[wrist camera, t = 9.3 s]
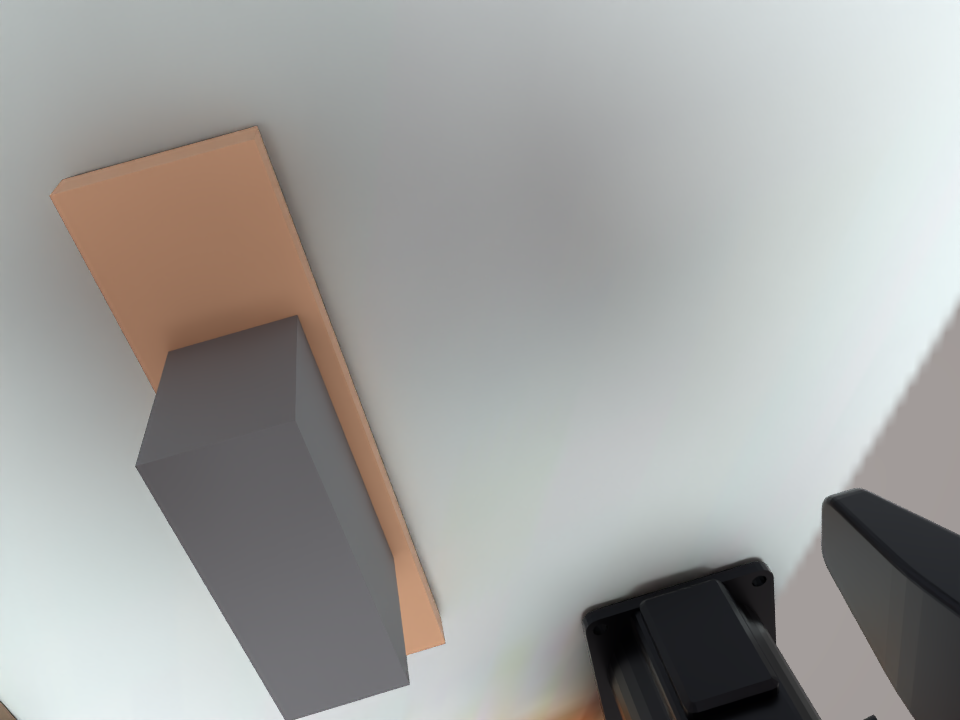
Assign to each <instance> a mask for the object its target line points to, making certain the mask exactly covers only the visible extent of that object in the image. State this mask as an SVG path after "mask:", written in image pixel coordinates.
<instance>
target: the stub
mask: <svg viewBox="0 0 960 720" xmlns="http://www.w3.org/2000/svg"><path fill="white" fill-rule="evenodd" d="M50 198H51V200H52V202H53V203H54V205H55V207H56V209H57V211H58V213H59V215H60V216H61V218H62V220H63V222H64V224H65V226H66V228H67V229H68V231H69V233H70V235H71V237H72V239H73V241H74V242H75V244H76V246H77V248H78V250H79V252H80V254H81V255H82V257H83V259H84V261H85V263H86V265H87V267H88V268H89V270H90V272H91V274H92V276H93V278H94V280H95V281H96V283H97V285H98V287H99V289H100V291H101V293H102V294H103V296H104V298H105V300H106V302H107V304H108V306H109V307H110V309H111V311H112V313H113V315H114V317H115V319H116V320H117V322H118V324H119V326H120V328H121V330H122V332H123V333H124V335H125V337H126V339H127V341H128V343H129V345H130V346H131V348H132V350H133V352H134V354H135V356H136V358H137V359H138V361H139V363H140V365H141V367H142V369H143V371H144V372H145V374H146V376H147V378H148V380H149V382H150V384H151V385H152V387H153V389H154V391H155V393H156V396H155V400H154V403H153V407H152V410H151V414H150V417H149V421H148V424H147V427H146V431H145V434H144V438H143V441H142V445H141V448H140V452H139V455H138V459H137V462H136V466H135V467H136V468H137V470H138V472H139V473H140V475H141V477H142V478H143V480H144V482H145V484H146V485H147V487H148V489H149V490H150V492H151V494H152V495H153V497H154V499H155V501H156V502H157V504H158V506H159V507H160V509H161V511H162V512H163V514H164V516H165V517H166V519H167V521H168V523H169V524H170V526H171V528H172V529H173V531H174V533H175V534H176V536H177V538H178V539H179V541H180V543H181V545H182V546H183V548H184V550H185V551H186V553H187V555H188V556H189V558H190V560H191V561H192V563H193V565H194V567H195V568H196V570H197V572H198V573H199V575H200V577H201V578H202V580H203V582H204V584H205V585H206V587H207V589H208V590H209V592H210V594H211V595H212V597H213V599H214V600H215V602H216V604H217V606H218V607H219V609H220V611H221V612H222V614H223V616H224V617H225V619H226V621H227V622H228V624H229V626H230V628H231V629H232V631H233V633H234V634H235V636H236V638H237V639H238V641H239V643H240V644H241V646H242V648H243V650H244V651H245V653H246V655H247V656H248V658H249V660H250V661H251V663H252V665H253V667H254V668H255V670H256V672H257V673H258V675H259V677H260V678H261V680H262V682H263V683H264V685H265V687H266V689H267V690H268V692H269V694H270V695H271V697H272V699H273V700H274V702H275V704H276V705H277V707H278V709H279V711H280V712H281V714H282V716H283V717H284V719H285V720H295V719H298V718H301V717H305V716H308V715H311V714H315V713H318V712H321V711H324V710H328V709H331V708H334V707H338V706H341V705H344V704H347V703H351V702H354V701H357V700H361V699H364V698H367V697H370V696H374V695H377V694H380V693H384V692H387V691H390V690H393V689H397V688H400V687H403V686H407V685H410V682H409V674H408V666H407V658H406V655H409V654H412V653H416V652H419V651H422V650H426V649H429V648H432V647H436V646H439V645H442V644H445V638H444V633H443V627H442V622H441V617H440V615H439V612H438V609H437V606H436V604H435V601H434V598H433V596H432V593H431V590H430V588H429V585H428V582H427V580H426V577H425V574H424V572H423V569H422V566H421V564H420V561H419V558H418V556H417V553H416V550H415V548H414V545H413V542H412V540H411V537H410V534H409V531H408V529H407V526H406V523H405V521H404V518H403V515H402V513H401V510H400V507H399V505H398V502H397V499H396V497H395V494H394V491H393V489H392V486H391V483H390V481H389V478H388V475H387V473H386V470H385V467H384V465H383V462H382V459H381V456H380V454H379V451H378V448H377V446H376V443H375V440H374V438H373V435H372V432H371V430H370V427H369V424H368V422H367V419H366V416H365V414H364V411H363V408H362V406H361V403H360V400H359V398H358V395H357V392H356V390H355V387H354V384H353V381H352V379H351V376H350V373H349V371H348V368H347V365H346V363H345V360H344V357H343V355H342V352H341V349H340V347H339V344H338V341H337V339H336V336H335V333H334V331H333V328H332V325H331V323H330V320H329V317H328V315H327V312H326V309H325V306H324V304H323V301H322V298H321V296H320V293H319V290H318V288H317V285H316V282H315V280H314V277H313V274H312V272H311V269H310V266H309V264H308V261H307V258H306V256H305V253H304V250H303V248H302V245H301V242H300V239H299V237H298V234H297V231H296V229H295V226H294V223H293V221H292V218H291V215H290V213H289V210H288V207H287V205H286V202H285V199H284V197H283V194H282V191H281V189H280V186H279V183H278V181H277V178H276V175H275V173H274V170H273V167H272V164H271V162H270V159H269V156H268V154H267V151H266V148H265V146H264V143H263V140H262V138H261V135H260V132H259V130H258V127H257V126H255V127H251V128H247V129H244V130H240V131H237V132H233V133H229V134H226V135H222V136H218V137H215V138H211V139H208V140H204V141H200V142H197V143H193V144H189V145H186V146H182V147H179V148H175V149H171V150H168V151H164V152H161V153H157V154H153V155H150V156H146V157H142V158H139V159H135V160H132V161H128V162H124V163H121V164H117V165H113V166H110V167H106V168H103V169H99V170H95V171H92V172H88V173H85V174H81V175H77V176H74V177H70V178H66V179H63V180H61V182H60V183H59V184H58V185H57V187H56V188H55V189H54V191H53V192H52V193H51V194H50Z"/></svg>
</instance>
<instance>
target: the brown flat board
mask: <svg viewBox="0 0 960 720" xmlns="http://www.w3.org/2000/svg"><path fill="white" fill-rule="evenodd" d="M0 720H16V719H15V718H14V717H13V716H12V715H11V713H10V712H9V711H8V710H7V709H6V708H5V707H4V706H3V704H2V703H1V702H0Z"/></svg>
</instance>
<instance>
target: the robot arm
mask: <svg viewBox="0 0 960 720" xmlns="http://www.w3.org/2000/svg"><path fill="white" fill-rule="evenodd" d="M821 546H822V554H823V558H824V561H825V564H826V566H827V568H828V570H829V572H830V574H831V576H832V578H833V579H834V581H835V583H836V585H837V587H838V588H839V590H840V592H841V594H842V595H843V597H844V599H845V601H846V603H847V604H848V606H849V608H850V610H851V612H852V614H853V615H854V617H855V619H856V621H857V623H858V624H859V626H860V628H861V630H862V632H863V634H864V635H865V637H866V639H867V641H868V643H869V644H870V646H871V648H872V650H873V652H874V653H875V655H876V657H877V659H878V661H879V663H880V664H881V666H882V668H883V670H884V671H885V673H886V675H887V677H888V678H889V680H890V682H891V683H892V685H893V687H894V688H895V690H896V692H897V694H898V695H899V697H900V698H901V700H902V701H903V703H904V704H905V706H906V707H907V709H908V710H909V712H910V713H911V715H912V716H913V717H914V719H915V720H960V535H958V534H956V533H954V532H952V531H950V530H948V529H946V528H944V527H942V526H940V525H938V524H936V523H934V522H932V521H930V520H928V519H925V518H923V517H921V516H919V515H917V514H915V513H913V512H911V511H908V510H907V509H905V508H902V507H901V506H899V505H897V504H895V503H892V502H890V501H888V500H886V499H884V498H882V497H880V496H878V495H876V494H874V493H872V492H870V491H867V490H865V489H860V488H854V489H850V490H847V491H843V492H840V493H837V494H833V495H830V496H828V497H826V498H825V499H824V501H823V503H822V542H821ZM582 625H583V630H584V634H585V638H586V643H587V647H588V651H589V655H590V660H591V664H592V668H593V673H594V677H595V681H596V686H597V690H598V694H599V698H600V703H601V707H602V711H603V716H604V720H821V718H820V717H819V715H818V713H817V712H816V710H815V708H814V707H813V705H812V703H811V702H810V700H809V698H808V697H807V695H806V694H805V692H804V690H803V688H802V687H801V685H800V684H799V682H798V680H797V679H796V677H795V675H794V674H793V672H792V671H791V669H790V667H789V665H788V664H787V662H786V660H785V659H784V657H783V655H782V654H781V652H780V651H779V649H778V647H777V646H776V628H775V601H774V577H773V574H772V572H771V570H770V569H769V567H768V566H767V564H765V563H764V562H760V561H757V562H752V563H749V564H745V565H742V566H739V567H736V568H732V569H729V570H726V571H722V572H719V573H716V574H712V575H709V576H706V577H703V578H699V579H696V580H693V581H689V582H686V583H683V584H680V585H676V586H673V587H670V588H666V589H663V590H660V591H656V592H653V593H650V594H647V595H643V596H640V597H637V598H633V599H630V600H627V601H623V602H620V603H617V604H614V605H610V606H607V607H604V608H600V609H597V610H594V611H592V612H590V613H588V614H587V615H586V616H585V617H584V619H583V621H582ZM864 720H877V718H876V717H875V716H874V715H872V716H870V717H868V718H866V719H864Z"/></svg>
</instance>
